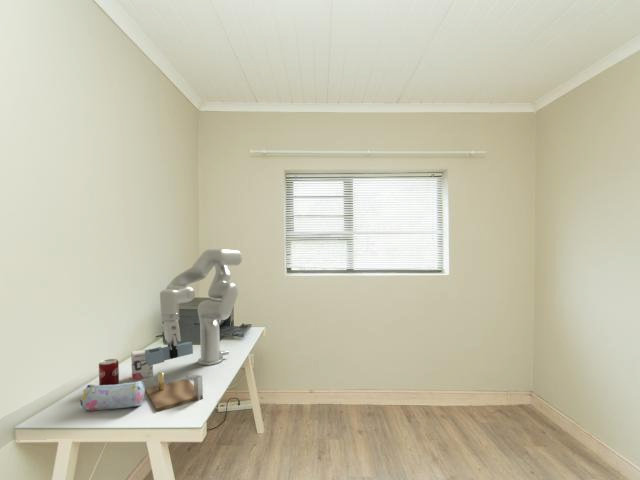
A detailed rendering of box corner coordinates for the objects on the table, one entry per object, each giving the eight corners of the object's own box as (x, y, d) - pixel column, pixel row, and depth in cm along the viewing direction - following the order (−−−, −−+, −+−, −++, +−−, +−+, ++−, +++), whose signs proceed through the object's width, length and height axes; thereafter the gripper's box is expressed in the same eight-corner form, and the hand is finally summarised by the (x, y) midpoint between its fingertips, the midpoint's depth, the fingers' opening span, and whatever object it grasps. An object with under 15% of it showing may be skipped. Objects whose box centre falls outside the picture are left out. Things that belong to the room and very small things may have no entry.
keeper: (187, 398, 140) (186, 376, 140) (191, 395, 143) (190, 374, 143) (198, 400, 139) (198, 378, 139) (202, 397, 141) (202, 375, 141)
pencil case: (79, 414, 130) (78, 388, 129) (92, 403, 138) (91, 379, 138) (138, 411, 131) (137, 385, 131) (147, 400, 140) (147, 376, 140)
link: (148, 365, 151) (147, 354, 151) (145, 361, 156) (144, 350, 156) (194, 354, 162) (193, 343, 162) (190, 350, 167) (189, 340, 167)
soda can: (98, 394, 146) (97, 365, 146) (100, 388, 152) (99, 360, 152) (118, 390, 149) (118, 362, 149) (119, 384, 156) (118, 357, 156)
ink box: (132, 380, 160) (132, 354, 160) (131, 376, 164) (131, 351, 164) (153, 375, 165) (152, 350, 165) (151, 372, 169) (151, 348, 169)
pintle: (163, 391, 148) (163, 371, 148) (164, 393, 146) (164, 373, 146) (158, 392, 146) (157, 373, 146) (159, 394, 145) (158, 374, 145)
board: (187, 381, 158) (187, 378, 158) (202, 398, 140) (202, 395, 140) (145, 391, 148) (145, 388, 148) (156, 411, 130) (156, 408, 130)
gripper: (184, 318, 155) (186, 360, 156) (174, 311, 168) (176, 349, 169) (165, 322, 150) (168, 364, 151) (157, 314, 163) (160, 353, 164)
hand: (172, 356), depth 160 cm, fingers closed on link, 3 cm apart
